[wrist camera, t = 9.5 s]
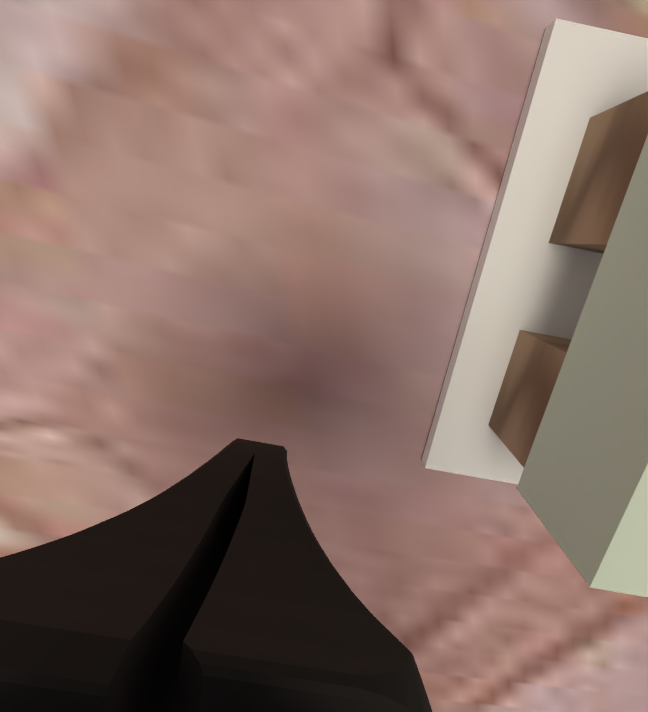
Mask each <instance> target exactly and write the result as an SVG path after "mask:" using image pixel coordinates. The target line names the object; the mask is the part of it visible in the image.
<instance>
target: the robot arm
mask: <svg viewBox="0 0 648 712" xmlns="http://www.w3.org/2000/svg"><path fill="white" fill-rule="evenodd" d="M0 712H432V709H431V706H430V703H429V700H428V697H427V694H426V691H425V688H424V685H423V682H422V679H421V676H420V673H419V671H418V668H417V665H416V662H415V660H414V657H413V655H412V653H411V652H410V651H409V650H408V649H407V648H406V647H405V646H404V645H403V644H402V643H401V642H400V641H399V640H398V639H397V638H396V637H395V636H394V635H393V634H392V633H391V632H390V631H389V630H388V629H386V628H385V627H384V626H383V625H382V624H381V623H380V622H379V621H378V620H377V619H376V618H375V617H374V616H373V615H372V614H371V613H370V612H369V610H368V609H367V608H366V607H365V606H364V605H363V604H362V602H361V601H360V600H359V599H358V598H357V597H356V596H355V594H354V593H353V592H352V591H351V589H350V588H349V587H348V585H347V584H346V583H345V581H344V580H343V579H342V577H341V576H340V575H339V573H338V572H337V571H336V569H335V568H334V567H333V565H332V564H331V562H330V561H329V559H328V557H327V556H326V554H325V553H324V551H323V550H322V548H321V546H320V544H319V543H318V541H317V539H316V537H315V536H314V534H313V532H312V530H311V528H310V526H309V524H308V522H307V520H306V517H305V515H304V513H303V511H302V508H301V506H300V503H299V501H298V498H297V495H296V492H295V489H294V486H293V483H292V480H291V477H290V473H289V468H288V463H287V451H286V449H285V448H284V446H278V445H272V444H267V443H261V442H255V441H250V440H244V439H238V438H237V439H236V440H234V441H232V442H231V443H230V444H229V445H228V446H226V447H225V448H224V449H223V450H222V451H220V452H219V453H218V454H217V455H215V456H214V457H213V458H212V459H210V460H209V461H208V462H206V463H205V464H204V465H202V466H201V467H200V468H198V469H197V470H195V471H194V472H193V473H191V474H190V475H189V476H187V477H186V478H184V479H183V480H181V481H179V482H178V483H176V484H175V485H173V486H172V487H170V488H169V489H167V490H166V491H164V492H162V493H161V494H159V495H157V496H156V497H154V498H152V499H150V500H148V501H146V502H144V503H142V504H140V505H139V506H137V507H135V508H133V509H131V510H129V511H127V512H124V513H122V514H120V515H118V516H115V517H113V518H111V519H108V520H106V521H104V522H101V523H99V524H97V525H94V526H92V527H89V528H87V529H85V530H82V531H80V532H77V533H75V534H72V535H69V536H66V537H64V538H61V539H58V540H55V541H52V542H49V543H46V544H43V545H40V546H37V547H34V548H31V549H28V550H25V551H21V552H18V553H15V554H11V555H8V556H5V557H1V558H0Z"/></svg>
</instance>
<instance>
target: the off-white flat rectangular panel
mask: <svg viewBox="0 0 648 712" xmlns="http://www.w3.org/2000/svg"><path fill="white" fill-rule="evenodd" d="M647 91H648V38H643V37H638V36H634V35H629V34H625V33H620V32H615V31H611V30H606V29H602V28H597V27H593V26H588V25H583V24H579V23H574V22H570V21H565V20H560V19H555V20H554V21H553V22H552V23H551V24H550V25H549V26H548V27H547V28H546V29H545V33H544V36H543V39H542V43H541V46H540V50H539V53H538V57H537V60H536V64H535V67H534V71H533V74H532V78H531V81H530V85H529V88H528V92H527V95H526V99H525V102H524V106H523V109H522V112H521V116H520V119H519V123H518V126H517V130H516V133H515V137H514V140H513V144H512V147H511V151H510V154H509V158H508V161H507V165H506V168H505V172H504V175H503V179H502V182H501V186H500V189H499V192H498V196H497V199H496V203H495V206H494V210H493V213H492V217H491V220H490V224H489V227H488V231H487V234H486V238H485V241H484V245H483V248H482V252H481V255H480V259H479V262H478V266H477V269H476V272H475V276H474V279H473V283H472V286H471V290H470V293H469V297H468V300H467V304H466V307H465V311H464V314H463V318H462V321H461V325H460V328H459V332H458V335H457V339H456V342H455V346H454V349H453V352H452V356H451V359H450V363H449V366H448V370H447V373H446V377H445V380H444V384H443V387H442V391H441V394H440V398H439V401H438V405H437V408H436V412H435V415H434V419H433V422H432V426H431V429H430V432H429V436H428V439H427V443H426V446H425V450H424V453H423V457H422V462H423V465H424V467H425V468H427V469H433V470H438V471H444V472H450V473H456V474H461V475H467V476H473V477H478V478H484V479H490V480H495V481H501V482H507V483H513V484H518V483H519V480H520V478H521V475H522V472H523V469H524V467H523V466H522V465H521V464H520V463H519V461H518V460H517V459H516V458H515V457H514V455H513V454H512V453H511V452H510V451H509V449H508V448H507V447H506V446H505V445H504V443H503V442H502V441H501V440H500V439H499V437H498V436H497V435H496V434H495V433H494V431H493V430H492V429H491V428H490V427H489V425H488V424H489V421H490V418H491V415H492V412H493V409H494V406H495V403H496V400H497V397H498V394H499V391H500V388H501V385H502V382H503V379H504V376H505V373H506V370H507V367H508V364H509V361H510V358H511V355H512V352H513V349H514V346H515V343H516V340H517V337H518V334H519V330H524V331H529V332H534V333H539V334H545V335H550V336H555V337H560V338H566V339H571V340H572V337H573V335H574V332H575V329H576V327H577V324H578V321H579V318H580V316H581V313H582V310H583V308H584V305H585V302H586V300H587V297H588V294H589V292H590V289H591V286H592V283H593V281H594V278H595V275H596V273H597V270H598V267H599V265H600V262H601V259H602V256H603V254H602V253H597V252H592V251H587V250H582V249H577V248H572V247H567V246H562V245H557V244H552V243H549V240H550V237H551V234H552V231H553V228H554V225H555V222H556V219H557V216H558V213H559V210H560V207H561V204H562V201H563V198H564V195H565V191H566V188H567V185H568V182H569V179H570V176H571V173H572V170H573V167H574V164H575V161H576V158H577V155H578V152H579V149H580V146H581V143H582V140H583V137H584V134H585V131H586V128H587V125H588V122H589V119H590V118H591V117H593V116H595V115H597V114H599V113H601V112H604V111H606V110H608V109H610V108H612V107H615V106H617V105H619V104H621V103H623V102H625V101H628V100H630V99H632V98H634V97H636V96H638V95H641V94H643V93H645V92H647Z"/></svg>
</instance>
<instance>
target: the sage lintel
mask: <svg viewBox="0 0 648 712" xmlns="http://www.w3.org/2000/svg"><path fill="white" fill-rule="evenodd" d="M517 489H518V491H519V492H520V493H521V495H522V496H523V497H524V499H525V500H526V501H527V503H528V504H529V506H530V507H531V508H532V510H533V511H534V512H535V514H536V515H537V516H538V518H539V519H540V520H541V522H542V523H543V525H544V526H545V527H546V529H547V530H548V531H549V533H550V534H551V535H552V537H553V538H554V539H555V541H556V542H557V544H558V545H559V546H560V548H561V549H562V550H563V552H564V553H565V554H566V556H567V557H568V558H569V560H570V561H571V563H572V564H573V565H574V567H575V568H576V569H577V571H578V572H579V573H580V575H581V576H582V577H583V579H584V580H585V582H586V583H587V584H588V586H589V587H591V588H597V589H603V590H609V591H615V592H621V593H627V594H633V595H638V596H644V597H648V135H647V138H646V141H645V143H644V146H643V149H642V151H641V154H640V157H639V159H638V162H637V165H636V168H635V170H634V173H633V176H632V178H631V181H630V184H629V186H628V189H627V192H626V194H625V197H624V200H623V203H622V205H621V208H620V211H619V213H618V216H617V219H616V221H615V224H614V227H613V230H612V232H611V235H610V238H609V240H608V243H607V246H606V248H605V251H604V254H603V256H602V259H601V262H600V265H599V267H598V270H597V273H596V275H595V278H594V281H593V283H592V286H591V289H590V292H589V294H588V297H587V300H586V302H585V305H584V308H583V310H582V313H581V316H580V318H579V321H578V324H577V327H576V329H575V332H574V335H573V337H572V340H571V343H570V345H569V348H568V351H567V354H566V356H565V359H564V362H563V364H562V367H561V370H560V372H559V375H558V378H557V380H556V383H555V386H554V389H553V391H552V394H551V397H550V399H549V402H548V405H547V407H546V410H545V413H544V416H543V418H542V421H541V424H540V426H539V429H538V432H537V434H536V437H535V440H534V442H533V445H532V448H531V451H530V453H529V456H528V459H527V461H526V464H525V467H524V469H523V472H522V475H521V478H520V480H519V483H518V486H517Z"/></svg>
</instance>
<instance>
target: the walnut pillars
mask: <svg viewBox="0 0 648 712" xmlns="http://www.w3.org/2000/svg"><path fill="white" fill-rule="evenodd" d="M647 135H648V91H647V92H645V93H643V94H641V95H638V96H636V97H634V98H632V99H630V100H628V101H625V102H623V103H621V104H619V105H617V106H615V107H612V108H610V109H608V110H606V111H604V112H601V113H599V114H597V115H595V116H593V117H591V118H590V119H589V122H588V125H587V128H586V131H585V134H584V137H583V140H582V143H581V146H580V149H579V152H578V155H577V158H576V161H575V164H574V167H573V170H572V173H571V176H570V179H569V182H568V185H567V188H566V191H565V195H564V198H563V201H562V204H561V207H560V210H559V213H558V216H557V219H556V222H555V225H554V228H553V231H552V234H551V237H550V240H549V243H552V244H557V245H562V246H567V247H572V248H577V249H582V250H587V251H592V252H597V253H602V254H604V251H605V248H606V246H607V243H608V240H609V238H610V235H611V232H612V230H613V227H614V224H615V221H616V219H617V216H618V213H619V211H620V208H621V205H622V203H623V200H624V197H625V194H626V192H627V189H628V186H629V184H630V181H631V178H632V176H633V173H634V170H635V168H636V165H637V162H638V159H639V157H640V154H641V151H642V149H643V146H644V143H645V141H646V138H647ZM570 343H571V339H566V338H560V337H555V336H550V335H545V334H539V333H534V332H529V331H524V330H519V334H518V337H517V340H516V343H515V346H514V349H513V352H512V355H511V358H510V361H509V364H508V367H507V370H506V373H505V376H504V379H503V382H502V385H501V388H500V391H499V394H498V397H497V400H496V403H495V406H494V409H493V412H492V415H491V418H490V421H489V424H488V425H489V427H490V428H491V429H492V430H493V431H494V433H495V434H496V435H497V436H498V437H499V439H500V440H501V441H502V442H503V443H504V445H505V446H506V447H507V448H508V449H509V451H510V452H511V453H512V454H513V455H514V457H515V458H516V459H517V460H518V461H519V463H520V464H521V465H522V466H523V467H525V464H526V461H527V459H528V456H529V453H530V451H531V448H532V445H533V442H534V440H535V437H536V434H537V432H538V429H539V426H540V424H541V421H542V418H543V416H544V413H545V410H546V407H547V405H548V402H549V399H550V397H551V394H552V391H553V389H554V386H555V383H556V380H557V378H558V375H559V372H560V370H561V367H562V364H563V362H564V359H565V356H566V354H567V351H568V348H569V345H570Z"/></svg>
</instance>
